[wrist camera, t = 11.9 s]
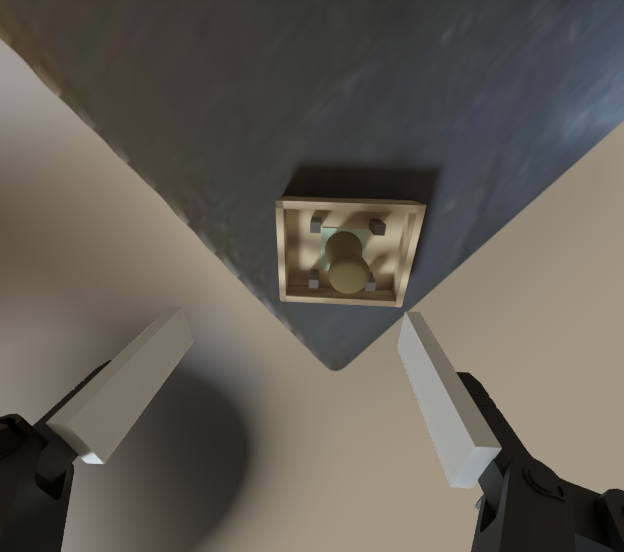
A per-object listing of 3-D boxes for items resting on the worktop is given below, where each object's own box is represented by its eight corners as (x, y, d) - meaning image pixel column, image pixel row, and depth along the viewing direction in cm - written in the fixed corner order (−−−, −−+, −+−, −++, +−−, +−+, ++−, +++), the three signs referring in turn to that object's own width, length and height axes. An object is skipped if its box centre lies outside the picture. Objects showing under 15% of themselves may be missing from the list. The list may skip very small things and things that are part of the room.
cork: (320, 236, 35) (318, 263, 26) (357, 226, 34) (371, 250, 25) (330, 269, 38) (331, 305, 28) (365, 261, 37) (379, 295, 27)
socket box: (281, 196, 34) (275, 200, 30) (412, 200, 33) (426, 205, 29) (284, 286, 41) (280, 300, 37) (393, 291, 41) (401, 307, 36)
